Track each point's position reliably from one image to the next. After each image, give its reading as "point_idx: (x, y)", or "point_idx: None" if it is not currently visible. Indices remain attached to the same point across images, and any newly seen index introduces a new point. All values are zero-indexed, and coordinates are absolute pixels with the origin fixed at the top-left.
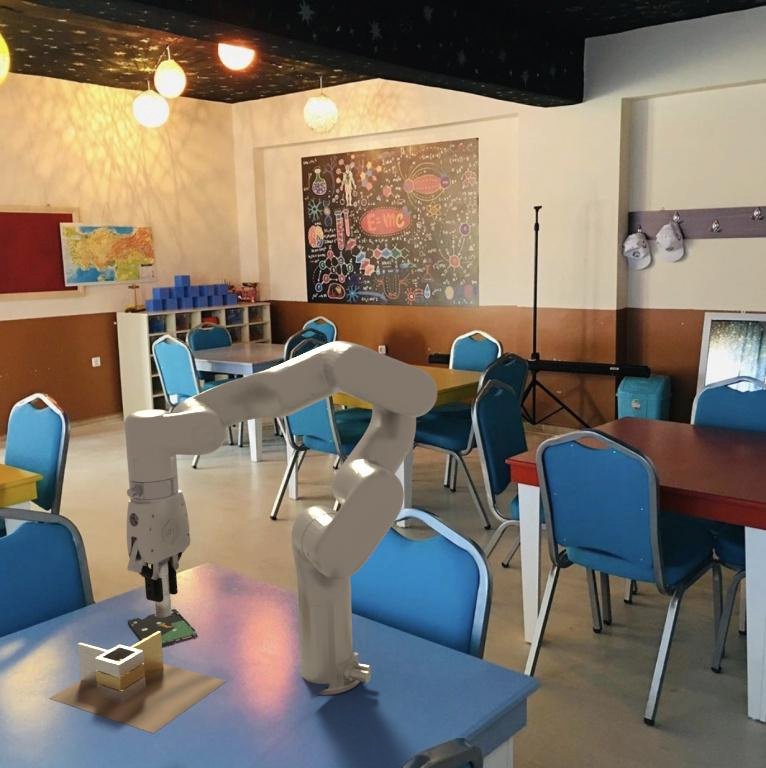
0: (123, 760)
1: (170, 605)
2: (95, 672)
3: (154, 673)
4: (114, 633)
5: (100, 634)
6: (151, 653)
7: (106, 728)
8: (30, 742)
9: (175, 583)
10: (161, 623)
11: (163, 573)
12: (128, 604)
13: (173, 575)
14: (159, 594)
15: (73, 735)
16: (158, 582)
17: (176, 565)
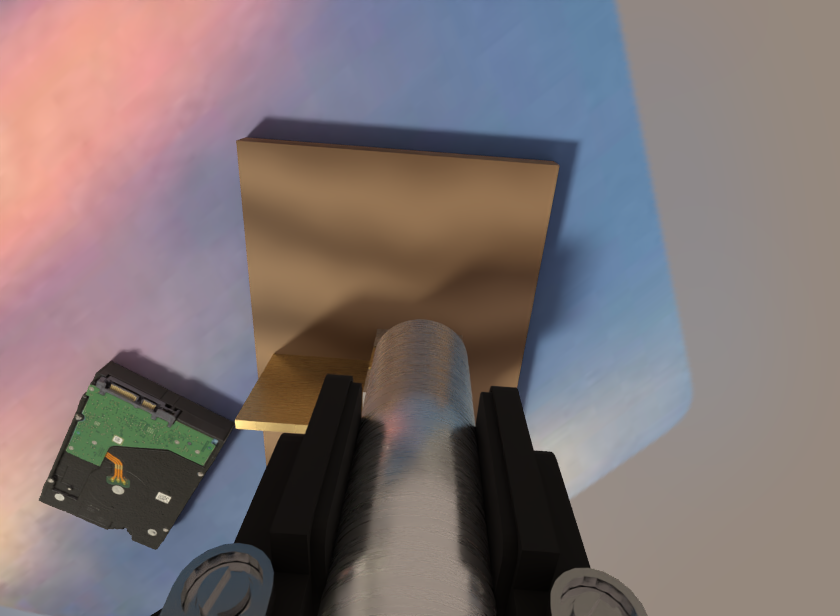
0: (647, 181)
1: (399, 351)
2: None
3: (308, 355)
4: (198, 542)
5: None
6: (297, 391)
7: (533, 312)
8: (625, 416)
9: (325, 431)
10: (115, 483)
11: (449, 592)
12: (87, 590)
13: (321, 504)
14: (525, 433)
15: (579, 358)
16: (548, 527)
17: (213, 595)
